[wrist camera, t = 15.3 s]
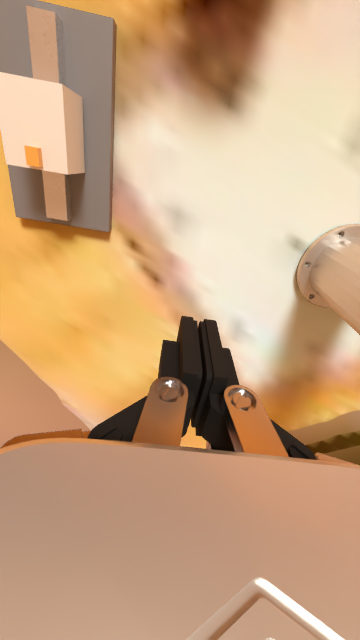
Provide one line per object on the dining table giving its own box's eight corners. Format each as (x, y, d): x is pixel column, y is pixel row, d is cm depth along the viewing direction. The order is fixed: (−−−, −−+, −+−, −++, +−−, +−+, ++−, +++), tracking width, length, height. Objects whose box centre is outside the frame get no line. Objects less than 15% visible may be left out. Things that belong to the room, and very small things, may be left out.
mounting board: (116, 25, 26) (113, 18, 25) (111, 229, 36) (108, 232, 35) (-10, -4, 25) (-20, -14, 24) (21, 214, 35) (16, 216, 34)
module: (82, 97, 27) (58, 81, 22) (84, 172, 31) (64, 174, 26) (23, 86, 27) (-16, 67, 22) (33, 163, 30) (1, 164, 25)
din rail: (62, 21, 25) (55, 12, 23) (72, 218, 34) (67, 220, 32) (35, 15, 24) (26, 5, 23) (52, 215, 34) (46, 217, 32)
